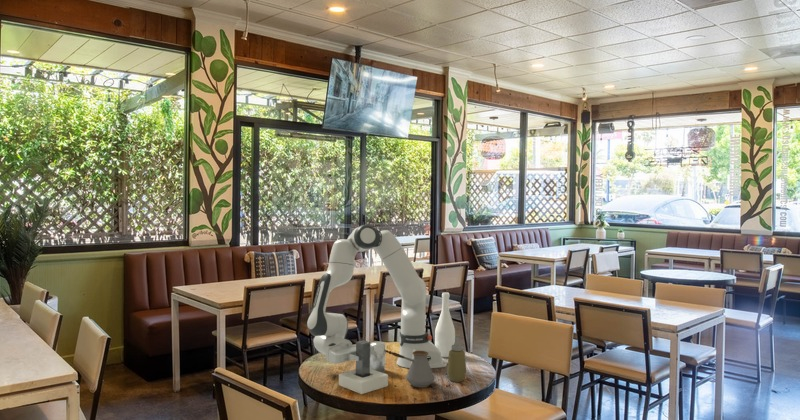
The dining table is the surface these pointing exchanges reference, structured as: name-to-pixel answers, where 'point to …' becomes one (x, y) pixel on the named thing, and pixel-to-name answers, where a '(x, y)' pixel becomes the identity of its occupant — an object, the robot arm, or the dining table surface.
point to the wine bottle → (445, 328)
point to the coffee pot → (418, 369)
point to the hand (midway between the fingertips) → (364, 357)
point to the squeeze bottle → (456, 362)
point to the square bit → (363, 358)
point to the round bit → (378, 356)
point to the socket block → (363, 381)
